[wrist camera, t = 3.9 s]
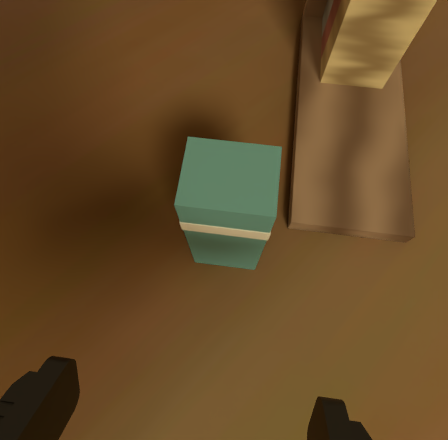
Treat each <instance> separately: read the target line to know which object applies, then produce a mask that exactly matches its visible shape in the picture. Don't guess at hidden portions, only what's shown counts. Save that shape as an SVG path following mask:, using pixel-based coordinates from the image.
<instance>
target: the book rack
mask: <svg viewBox="0 0 448 440" xmlns="http://www.w3.org/2000/svg"><path fill="white" fill-rule="evenodd" d="M436 1H437V0H306V2H305V6H304V10H303V14H302V19H301V33H300V48H299V64H298V79H297V94H296V110H295V125H294V141H293V156H292V172H291V187H290V203H289V218H288V228H291V229H299V230H307V231H316V232H324V233H332V234H340V235H349V236H357V237H365V238H373V239H381V240H390V241H398V242H407V241H409V240H411V239H412V238H414V237H415V230H414V218H413V206H412V194H411V181H410V169H409V157H408V145H407V132H406V120H405V108H404V96H403V83H402V71H401V58H402V56H403V55H404V53H405V51H406V50H407V48H408V46H409V45H410V43H411V42H412V40H413V38H414V37H415V35H416V34H417V32H418V30H419V29H420V27H421V25H422V24H423V22H424V21H425V19H426V17H427V16H428V14H429V13H430V11H431V9H432V8H433V6H434V5H435V3H436Z"/></svg>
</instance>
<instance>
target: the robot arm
mask: <svg viewBox="0 0 448 440" xmlns="http://www.w3.org/2000/svg"><path fill="white" fill-rule="evenodd" d="M79 393H80V388H79V381H78V373H77V366H76V361H75V360H74V359H69V358H63V357H56V356H51V357H49V358H48V359H47V360H46V361H45V362H44V364H43V365H42V366H41V368H40V369H39V371H38V372H32V371H29V372H28V373H26V374H25V375H24V376H22V377H21V378H20V379H18V380H17V381H16V382H14V383H13V384H12V385H11V386H10V388H9V389H8V390H7V391H6V393H5V394H4V395H3V396H2V398H1V399H0V440H58V439H59V438H60V436H61V434H62V432H63V430H64V428H65V427H66V425H67V423H68V421H69V419H70V417H71V416H72V414H73V412H74V410H75V408H76V405H77V402H78V399H79ZM307 440H372V439H371V437H370V436H369V434H368V433H367V431H366V430H365V428H364V427H363V425H362V424H361V422H356V421H349V417H348V413H347V410H346V406H345V403H344V402H343V400H339V399H333V398H326V397H318V398H317V400H316V403H315V406H314V409H313V413H312V416H311V419H310V422H309V426H308V432H307Z"/></svg>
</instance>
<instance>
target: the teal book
mask: <svg viewBox="0 0 448 440" xmlns="http://www.w3.org/2000/svg"><path fill="white" fill-rule="evenodd" d="M281 151H282V147H278V146H269V145H260V144H251V143H242V142H233V141H224V140H215V139H206V138H197V137H188V139H187V144H186V149H185V154H184V159H183V164H182V169H181V174H180V179H179V184H178V188H177V193H176V198H175V203H174V206H175V209H176V211H177V214H178V217H179V220H180V222H179V223H180V226H181V228H182V230H183V231H184V233H185V236H186V239H187V242H188V244H189V247H190V250H191V253H192V255H193V258H194V261H195V262H198V263H206V264H213V265H221V266H229V267H237V268H244V269H252V270H255V268H256V265H257V263H258V260H259V258H260V256H261V253H262V251H263V248H264V246H265V243H266V241H267V240H268V239H269V237H270V234H271V229H272V226H273V224H274V221H275V219H276V214H277V201H278V189H279V176H280V163H281Z"/></svg>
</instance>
